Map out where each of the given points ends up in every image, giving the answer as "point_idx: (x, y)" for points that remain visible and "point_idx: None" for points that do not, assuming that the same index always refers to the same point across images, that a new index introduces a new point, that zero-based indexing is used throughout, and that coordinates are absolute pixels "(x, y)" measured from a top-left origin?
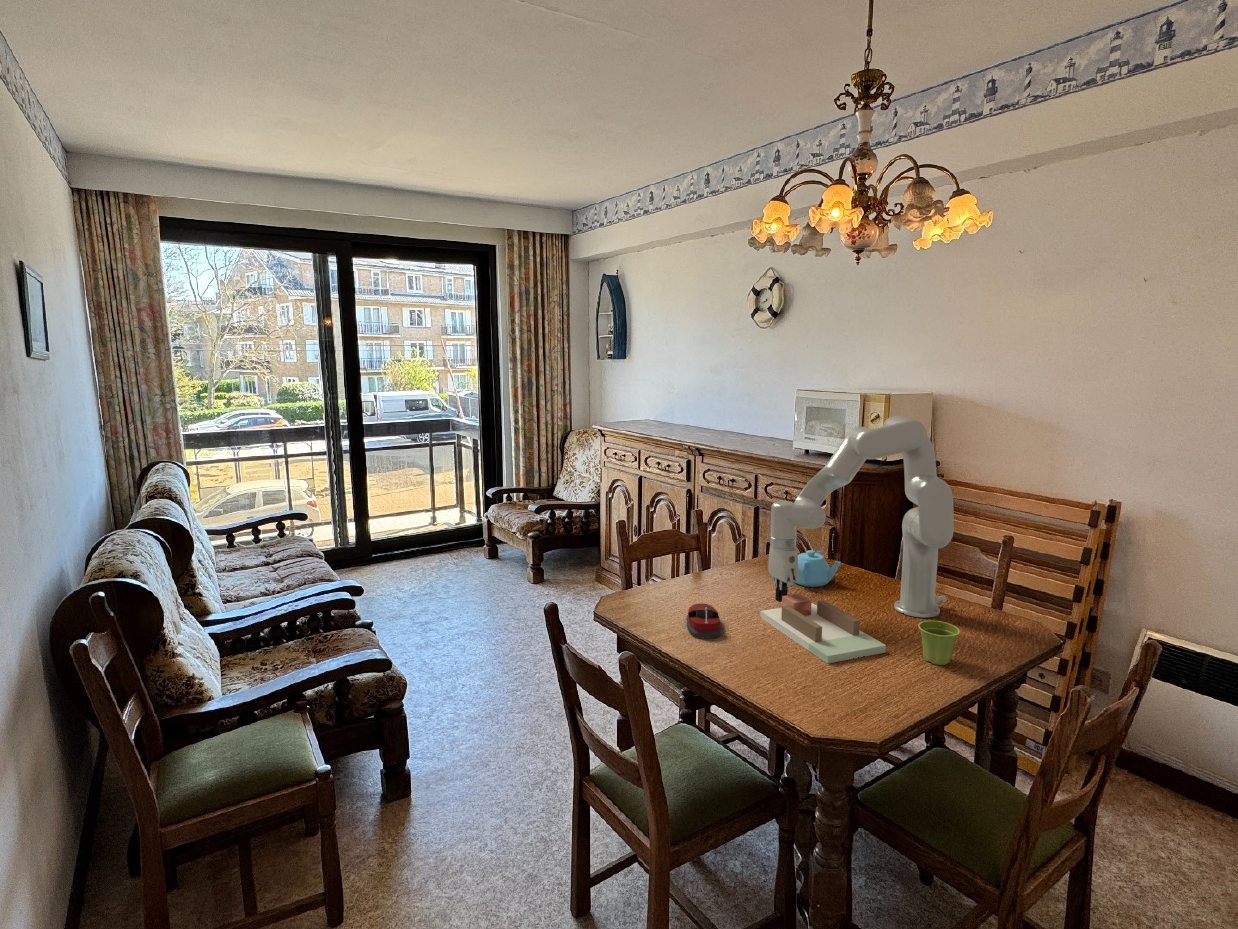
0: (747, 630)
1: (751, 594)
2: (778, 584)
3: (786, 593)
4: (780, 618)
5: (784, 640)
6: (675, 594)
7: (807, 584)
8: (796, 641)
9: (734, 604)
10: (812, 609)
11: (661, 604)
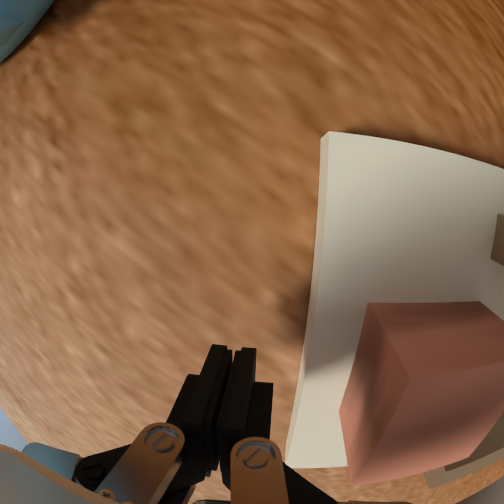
0: (350, 487)
1: (36, 318)
2: (186, 487)
3: (270, 416)
4: None
5: None
6: None
7: (35, 17)
8: None
9: (127, 431)
10: (436, 229)
11: None
